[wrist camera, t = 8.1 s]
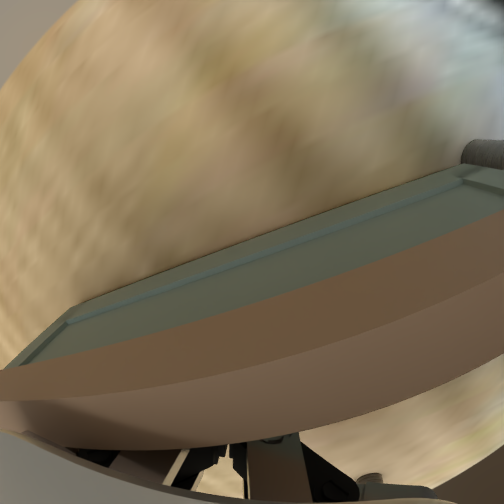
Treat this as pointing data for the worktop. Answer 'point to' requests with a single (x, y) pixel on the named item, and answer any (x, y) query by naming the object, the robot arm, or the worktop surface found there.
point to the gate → (279, 327)
